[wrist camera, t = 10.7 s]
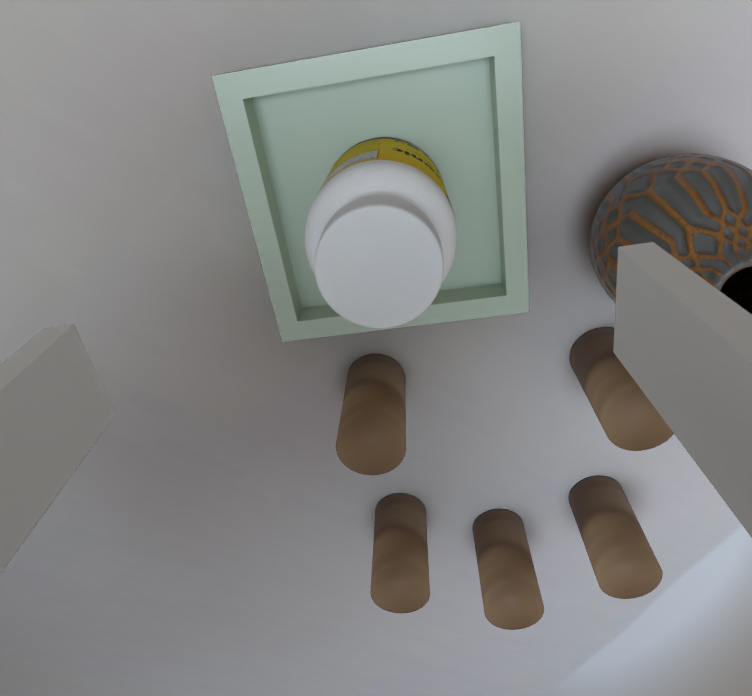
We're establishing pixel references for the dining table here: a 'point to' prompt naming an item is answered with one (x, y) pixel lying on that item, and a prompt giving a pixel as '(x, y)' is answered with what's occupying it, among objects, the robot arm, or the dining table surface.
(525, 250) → the tray
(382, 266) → the supplement bottle
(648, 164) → the vase
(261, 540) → the dining table surface
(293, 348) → the dining table surface
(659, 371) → the robot arm
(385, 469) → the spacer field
